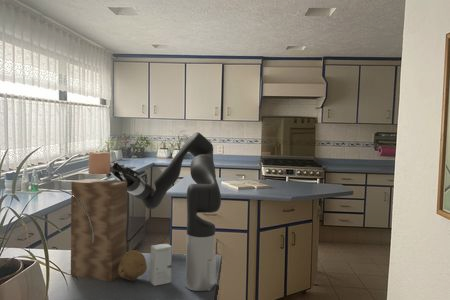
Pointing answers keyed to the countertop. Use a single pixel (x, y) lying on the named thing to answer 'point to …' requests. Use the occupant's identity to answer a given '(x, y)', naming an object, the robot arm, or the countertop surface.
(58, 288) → the countertop surface
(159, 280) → the skincare box
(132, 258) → the natural sponge
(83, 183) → the stand
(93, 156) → the peach cylinder
